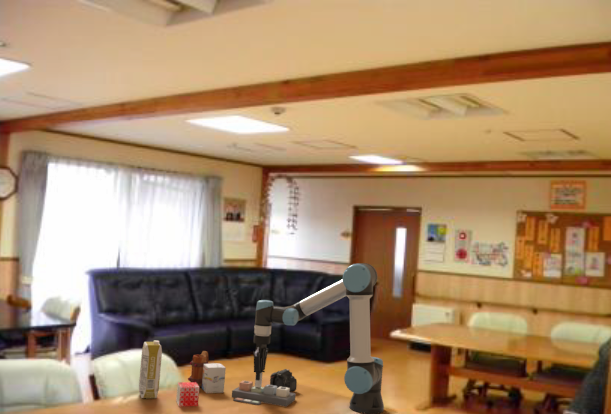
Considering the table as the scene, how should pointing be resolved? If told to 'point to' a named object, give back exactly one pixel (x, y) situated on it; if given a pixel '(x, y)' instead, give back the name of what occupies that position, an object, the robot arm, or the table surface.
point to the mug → (198, 367)
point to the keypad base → (263, 397)
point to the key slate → (270, 389)
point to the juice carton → (150, 369)
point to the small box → (187, 394)
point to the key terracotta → (245, 385)
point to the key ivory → (282, 391)
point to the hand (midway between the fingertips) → (258, 386)
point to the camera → (283, 379)
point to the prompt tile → (247, 401)
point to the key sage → (257, 389)
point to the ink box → (213, 378)
